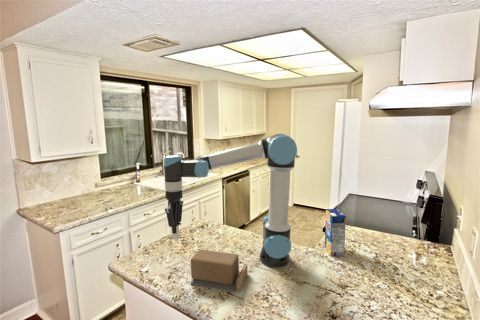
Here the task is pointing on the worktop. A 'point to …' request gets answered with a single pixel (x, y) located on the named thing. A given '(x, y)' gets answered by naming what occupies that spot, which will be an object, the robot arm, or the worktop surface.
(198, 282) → the mat
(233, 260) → the wooden block
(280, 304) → the worktop surface
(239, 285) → the stop rail
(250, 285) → the worktop surface
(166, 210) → the robot arm
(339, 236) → the beverage box
